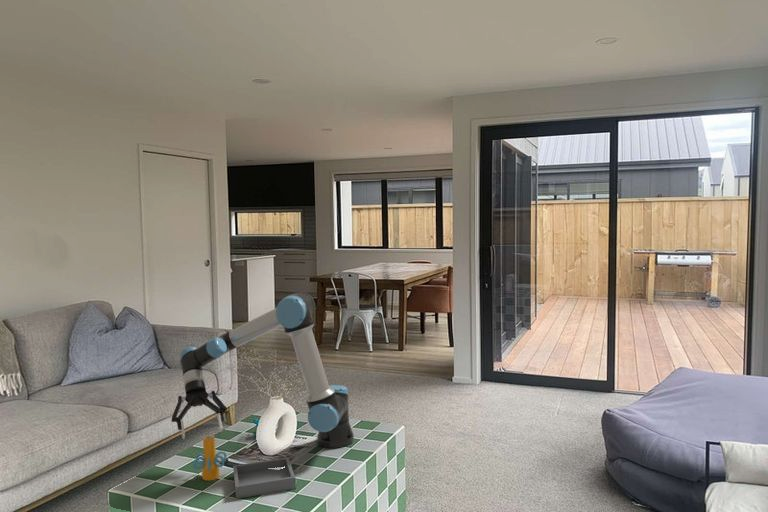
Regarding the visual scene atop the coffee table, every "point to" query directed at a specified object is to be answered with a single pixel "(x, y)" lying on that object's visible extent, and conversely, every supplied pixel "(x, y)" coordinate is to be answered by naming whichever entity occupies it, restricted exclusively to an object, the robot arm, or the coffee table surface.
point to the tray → (263, 477)
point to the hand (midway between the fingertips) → (202, 433)
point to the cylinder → (209, 459)
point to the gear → (256, 424)
